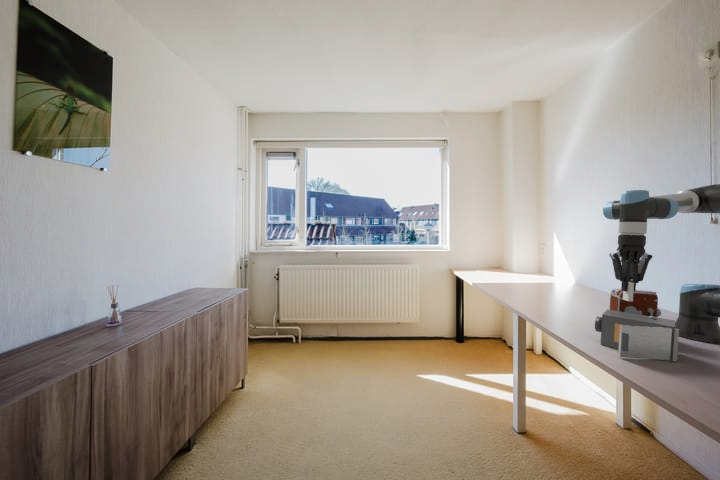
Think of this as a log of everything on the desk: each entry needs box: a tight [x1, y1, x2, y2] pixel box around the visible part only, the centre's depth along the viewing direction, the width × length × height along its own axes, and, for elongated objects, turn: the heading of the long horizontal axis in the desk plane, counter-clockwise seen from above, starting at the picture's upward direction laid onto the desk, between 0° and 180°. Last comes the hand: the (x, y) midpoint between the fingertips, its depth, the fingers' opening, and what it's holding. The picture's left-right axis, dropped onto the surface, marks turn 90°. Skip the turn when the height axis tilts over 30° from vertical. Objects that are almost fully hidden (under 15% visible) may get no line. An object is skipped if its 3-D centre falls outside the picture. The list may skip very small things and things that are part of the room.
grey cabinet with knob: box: [594, 309, 680, 362], centre depth 120 cm, size 13×24×13 cm, turn 45°
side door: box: [617, 325, 672, 361], centre depth 109 cm, size 2×16×11 cm, turn 85°
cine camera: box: [609, 288, 662, 318], centre depth 134 cm, size 9×19×20 cm, turn 78°
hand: (627, 300), depth 112 cm, fingers closed
